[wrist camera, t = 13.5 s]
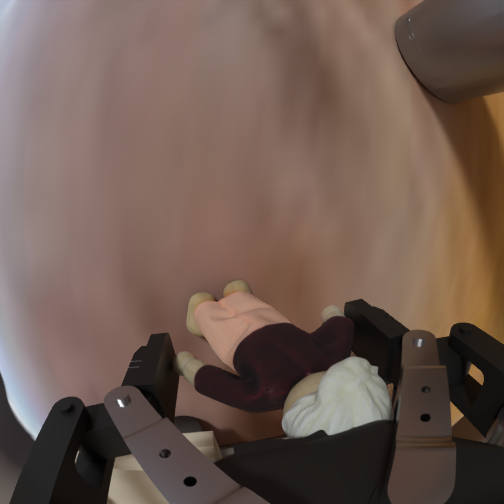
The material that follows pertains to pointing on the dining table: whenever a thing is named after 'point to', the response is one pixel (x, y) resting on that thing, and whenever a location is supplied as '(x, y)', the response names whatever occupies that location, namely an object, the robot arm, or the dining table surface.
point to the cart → (136, 480)
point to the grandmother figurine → (283, 365)
